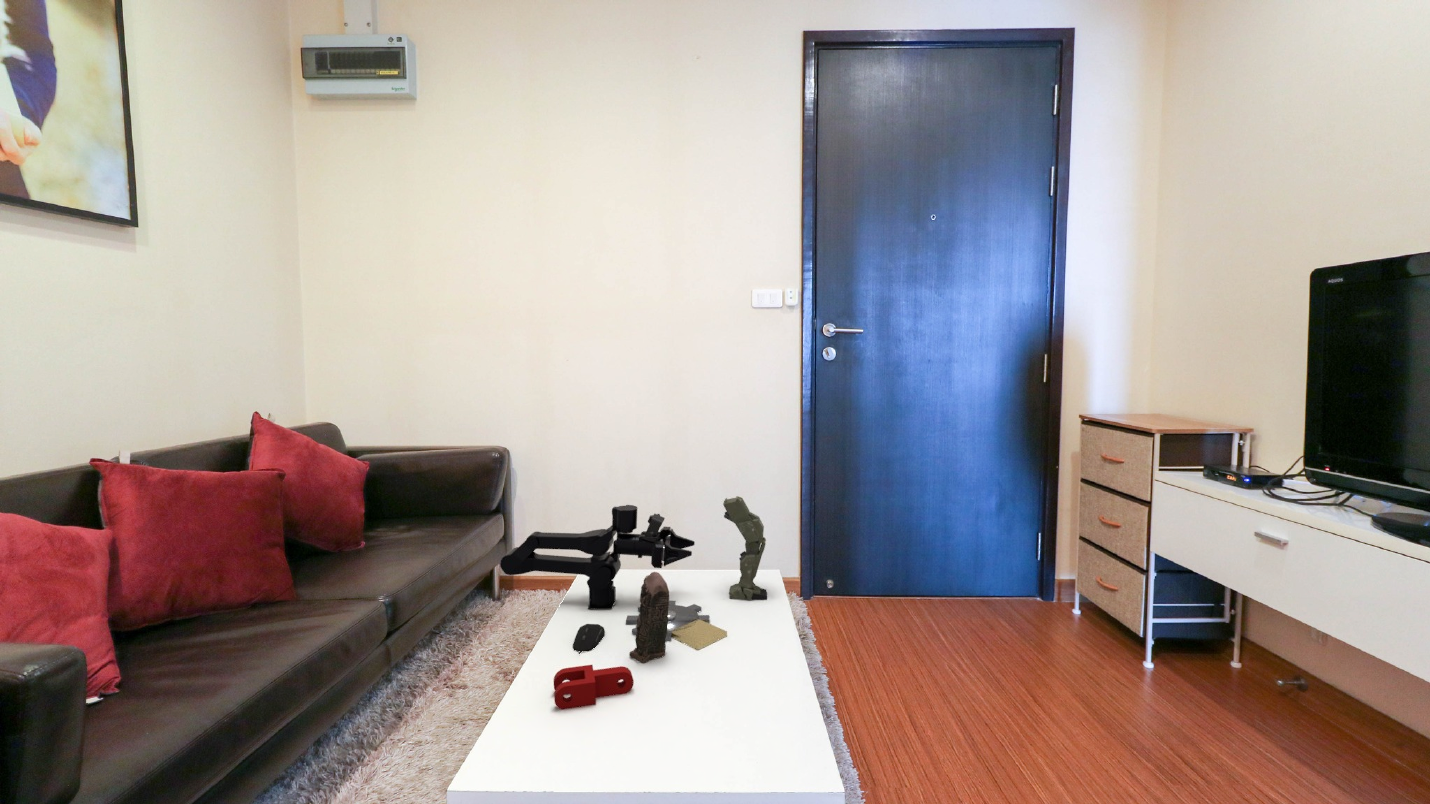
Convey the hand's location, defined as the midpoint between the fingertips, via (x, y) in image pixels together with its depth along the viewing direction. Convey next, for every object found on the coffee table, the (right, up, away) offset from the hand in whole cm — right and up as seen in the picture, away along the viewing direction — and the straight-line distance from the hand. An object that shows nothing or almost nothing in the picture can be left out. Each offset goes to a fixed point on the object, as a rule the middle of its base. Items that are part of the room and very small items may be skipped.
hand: (693, 548), depth 172 cm
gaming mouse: (-25, -19, -19) cm, 37 cm away
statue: (-9, -19, -26) cm, 33 cm away
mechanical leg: (+15, -16, +9) cm, 24 cm away
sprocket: (-4, -18, -10) cm, 20 cm away
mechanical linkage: (-19, -21, -42) cm, 50 cm away
